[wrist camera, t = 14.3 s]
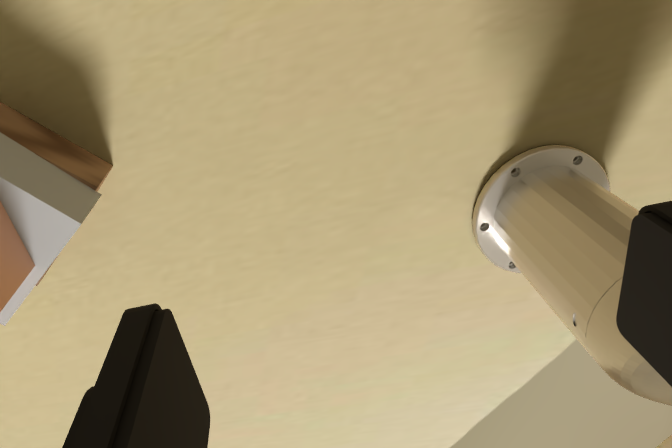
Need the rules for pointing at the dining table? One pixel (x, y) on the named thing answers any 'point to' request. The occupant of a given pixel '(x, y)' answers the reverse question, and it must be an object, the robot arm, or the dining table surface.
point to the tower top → (39, 210)
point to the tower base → (53, 149)
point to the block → (11, 259)
